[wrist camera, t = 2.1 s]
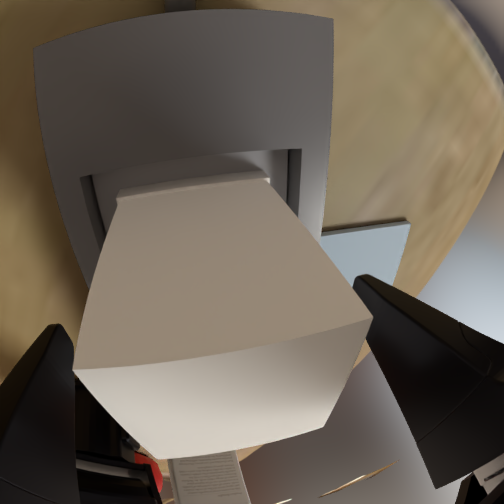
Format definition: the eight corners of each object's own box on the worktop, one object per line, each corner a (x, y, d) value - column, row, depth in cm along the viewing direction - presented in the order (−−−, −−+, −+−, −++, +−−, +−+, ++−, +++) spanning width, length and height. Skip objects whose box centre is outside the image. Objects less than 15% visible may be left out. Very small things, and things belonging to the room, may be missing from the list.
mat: (290, 331, 20) (291, 335, 20) (299, 235, 16) (302, 239, 16) (380, 307, 22) (382, 310, 22) (407, 220, 17) (411, 223, 17)
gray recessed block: (163, 380, 21) (169, 439, 16) (77, -19, 6) (30, -58, 2) (274, 361, 22) (295, 416, 18) (284, -37, 8) (342, -80, 3)
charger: (148, 299, 12) (154, 460, 6) (120, 189, 9) (64, 366, 3) (262, 281, 13) (325, 427, 7) (263, 170, 10) (379, 311, 4)
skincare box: (162, 425, 25) (178, 530, 16) (164, 408, 23) (183, 528, 14) (218, 424, 27) (243, 523, 18) (227, 408, 25) (257, 519, 16)
